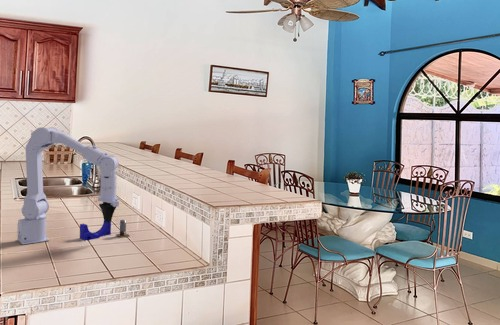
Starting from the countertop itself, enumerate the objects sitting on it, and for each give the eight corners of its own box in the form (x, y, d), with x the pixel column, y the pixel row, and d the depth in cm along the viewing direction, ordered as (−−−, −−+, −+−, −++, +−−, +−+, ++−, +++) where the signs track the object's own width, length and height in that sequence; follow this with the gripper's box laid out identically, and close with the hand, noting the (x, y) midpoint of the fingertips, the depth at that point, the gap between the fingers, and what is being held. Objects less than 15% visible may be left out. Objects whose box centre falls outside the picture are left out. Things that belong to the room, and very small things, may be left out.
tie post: (120, 237, 163) (120, 222, 163) (116, 235, 166) (116, 220, 166) (129, 236, 166) (129, 220, 165) (125, 234, 169) (125, 218, 168)
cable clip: (85, 241, 157) (85, 226, 157) (79, 238, 160) (79, 224, 159) (112, 235, 166) (113, 221, 166) (106, 233, 169) (107, 219, 169)
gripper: (126, 189, 151) (125, 224, 153) (110, 184, 162) (109, 216, 163) (108, 190, 147) (108, 226, 148) (93, 185, 157) (92, 218, 158)
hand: (107, 221), depth 155 cm, fingers closed
